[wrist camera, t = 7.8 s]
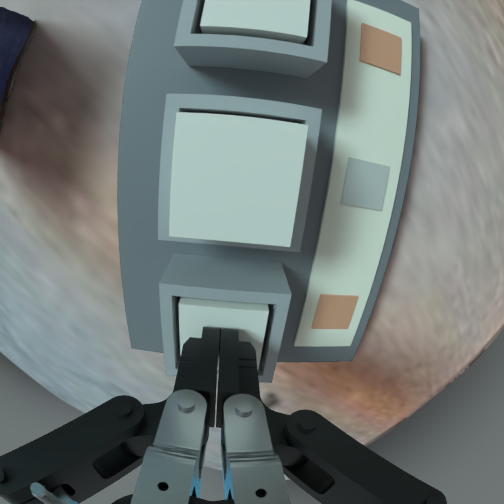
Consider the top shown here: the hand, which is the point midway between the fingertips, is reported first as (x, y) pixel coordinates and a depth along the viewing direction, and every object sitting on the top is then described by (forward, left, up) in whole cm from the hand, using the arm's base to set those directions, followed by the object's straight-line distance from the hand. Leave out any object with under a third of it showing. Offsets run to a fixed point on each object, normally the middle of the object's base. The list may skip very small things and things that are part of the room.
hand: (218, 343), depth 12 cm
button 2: (-14, 0, -3) cm, 14 cm away
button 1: (0, 0, -3) cm, 3 cm away
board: (-7, +2, -5) cm, 9 cm away
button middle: (-7, 0, -1) cm, 7 cm away
